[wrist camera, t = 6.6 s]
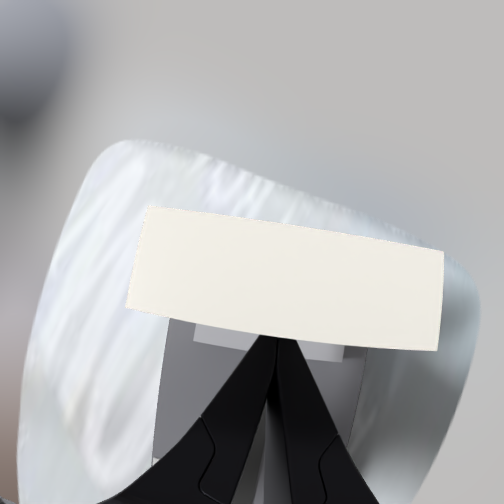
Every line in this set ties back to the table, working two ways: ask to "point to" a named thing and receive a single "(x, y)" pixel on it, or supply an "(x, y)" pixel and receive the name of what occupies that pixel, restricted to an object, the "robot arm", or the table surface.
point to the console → (212, 379)
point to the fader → (286, 284)
